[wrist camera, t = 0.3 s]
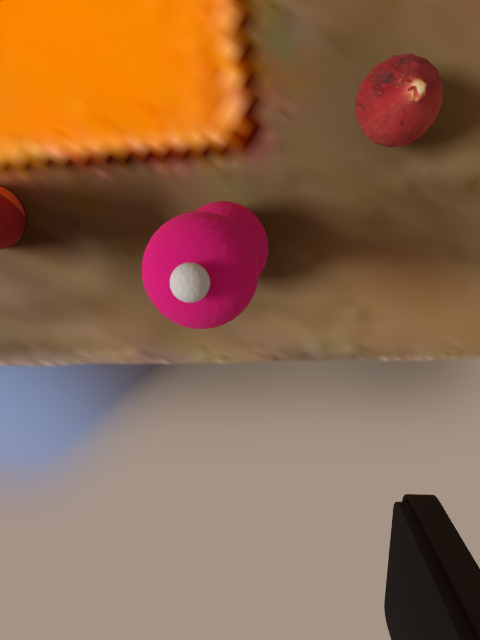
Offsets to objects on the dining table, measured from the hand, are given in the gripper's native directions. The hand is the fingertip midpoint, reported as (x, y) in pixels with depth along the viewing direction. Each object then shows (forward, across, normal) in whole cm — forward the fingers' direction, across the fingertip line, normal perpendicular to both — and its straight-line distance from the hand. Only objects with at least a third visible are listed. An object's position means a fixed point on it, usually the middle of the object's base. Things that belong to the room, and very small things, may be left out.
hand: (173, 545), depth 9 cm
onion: (+30, -12, -14) cm, 35 cm away
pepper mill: (+30, +1, -4) cm, 30 cm away
